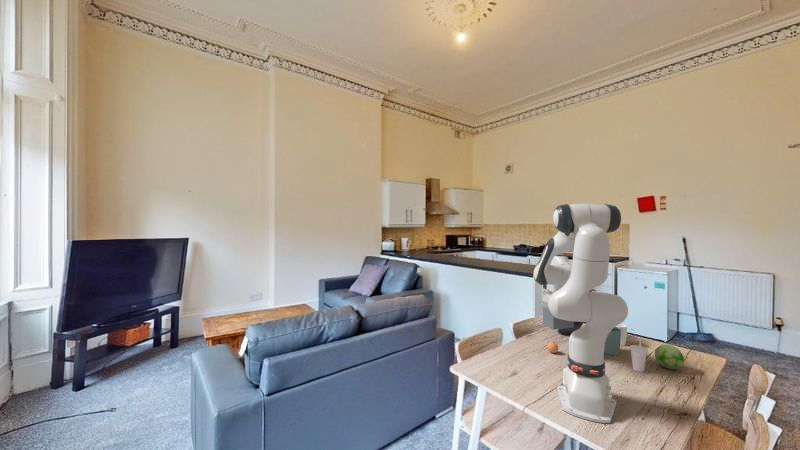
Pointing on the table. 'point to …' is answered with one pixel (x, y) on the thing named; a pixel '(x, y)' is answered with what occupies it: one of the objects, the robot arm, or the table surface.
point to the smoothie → (638, 356)
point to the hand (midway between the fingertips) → (558, 315)
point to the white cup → (622, 333)
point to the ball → (552, 347)
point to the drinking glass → (613, 342)
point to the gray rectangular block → (555, 321)
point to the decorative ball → (669, 356)
